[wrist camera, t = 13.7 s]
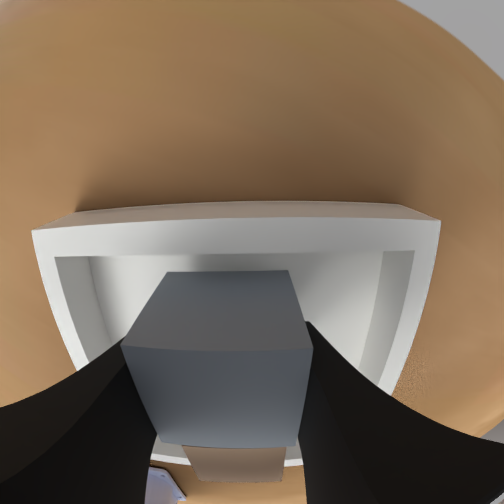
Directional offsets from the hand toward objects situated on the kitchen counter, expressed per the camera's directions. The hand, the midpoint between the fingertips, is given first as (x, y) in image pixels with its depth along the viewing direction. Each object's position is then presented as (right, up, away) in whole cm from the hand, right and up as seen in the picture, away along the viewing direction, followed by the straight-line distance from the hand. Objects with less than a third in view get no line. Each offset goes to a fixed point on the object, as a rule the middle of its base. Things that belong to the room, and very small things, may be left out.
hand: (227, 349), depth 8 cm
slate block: (0, 0, +1) cm, 1 cm away
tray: (0, -2, +4) cm, 5 cm away
